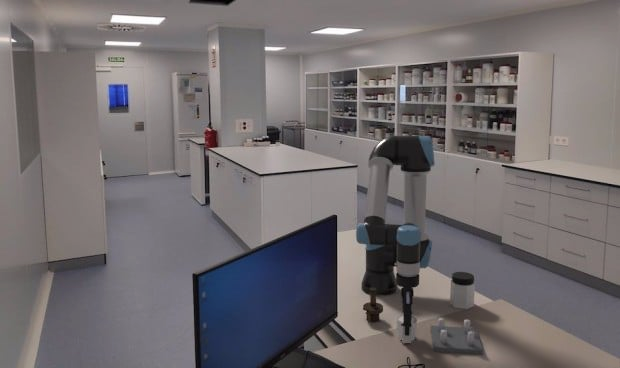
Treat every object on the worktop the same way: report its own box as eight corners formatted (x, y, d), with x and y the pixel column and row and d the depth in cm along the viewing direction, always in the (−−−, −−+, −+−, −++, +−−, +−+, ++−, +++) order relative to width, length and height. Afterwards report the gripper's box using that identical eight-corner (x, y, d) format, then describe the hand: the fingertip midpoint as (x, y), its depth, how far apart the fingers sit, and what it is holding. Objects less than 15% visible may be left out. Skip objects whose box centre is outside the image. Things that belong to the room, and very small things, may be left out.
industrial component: (369, 326, 179) (369, 294, 176) (358, 318, 185) (358, 287, 183) (391, 320, 183) (391, 289, 180) (380, 312, 189) (380, 282, 187)
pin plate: (430, 329, 175) (430, 314, 174) (475, 332, 173) (475, 317, 172) (433, 351, 161) (434, 335, 160) (482, 354, 158) (483, 338, 157)
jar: (462, 311, 189) (463, 281, 187) (445, 303, 196) (446, 274, 194) (478, 305, 194) (479, 276, 192) (461, 298, 201) (462, 269, 199)
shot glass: (414, 344, 165) (415, 324, 164) (394, 341, 167) (394, 321, 166) (418, 335, 171) (418, 316, 170) (398, 332, 174) (398, 313, 173)
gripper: (395, 262, 175) (394, 323, 180) (396, 283, 156) (395, 351, 160) (417, 263, 174) (416, 325, 178) (421, 284, 155) (419, 353, 159)
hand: (406, 337), depth 169 cm, fingers closed on shot glass, 7 cm apart
